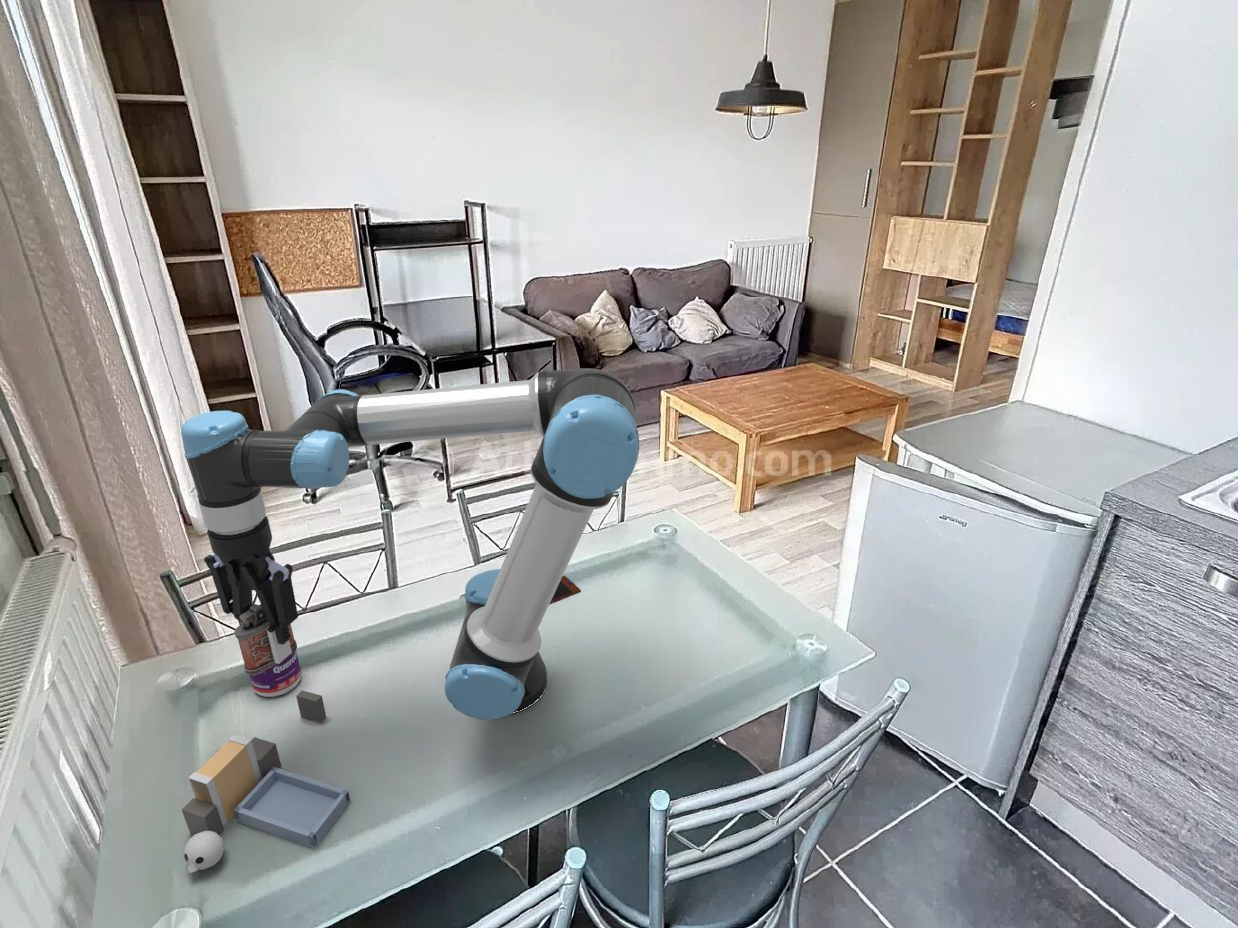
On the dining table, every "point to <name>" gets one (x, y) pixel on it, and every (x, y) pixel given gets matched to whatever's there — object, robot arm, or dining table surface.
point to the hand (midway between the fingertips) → (270, 653)
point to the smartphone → (564, 590)
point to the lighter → (257, 641)
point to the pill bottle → (278, 677)
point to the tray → (293, 807)
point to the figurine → (203, 850)
